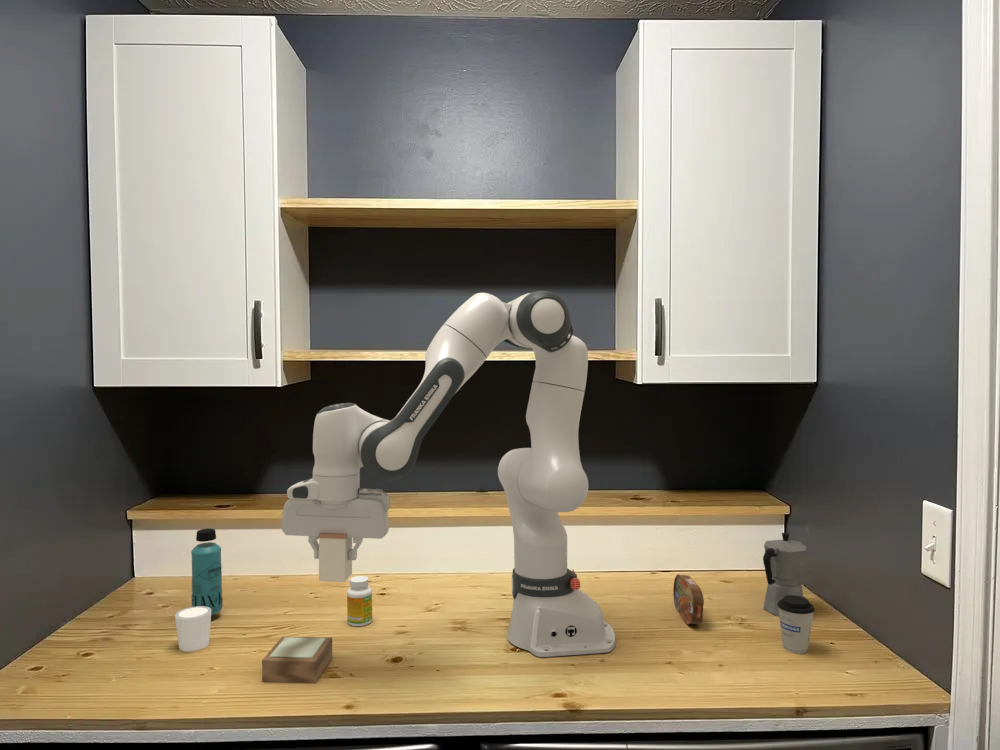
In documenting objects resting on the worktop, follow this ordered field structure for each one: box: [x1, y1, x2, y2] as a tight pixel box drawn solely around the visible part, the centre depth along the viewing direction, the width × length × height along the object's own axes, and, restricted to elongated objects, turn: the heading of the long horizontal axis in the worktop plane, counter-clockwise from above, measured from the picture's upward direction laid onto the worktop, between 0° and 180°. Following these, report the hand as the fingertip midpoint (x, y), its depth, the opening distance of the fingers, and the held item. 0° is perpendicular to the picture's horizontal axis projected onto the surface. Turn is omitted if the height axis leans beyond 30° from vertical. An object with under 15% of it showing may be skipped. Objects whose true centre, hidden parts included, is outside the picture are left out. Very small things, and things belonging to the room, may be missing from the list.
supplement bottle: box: [346, 575, 373, 627], centre depth 151 cm, size 5×5×10 cm
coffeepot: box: [762, 531, 808, 617], centre depth 156 cm, size 15×9×18 cm, turn 129°
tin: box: [672, 574, 705, 625], centre depth 153 cm, size 15×3×8 cm, turn 1°
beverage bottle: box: [190, 528, 224, 616], centre depth 154 cm, size 6×7×20 cm
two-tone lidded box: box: [318, 533, 353, 583], centre depth 132 cm, size 5×5×9 cm
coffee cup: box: [777, 595, 816, 655], centre depth 137 cm, size 7×7×10 cm
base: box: [261, 636, 334, 684], centre depth 130 cm, size 10×10×4 cm
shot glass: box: [174, 606, 212, 653], centre depth 140 cm, size 7×7×7 cm
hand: (335, 558), depth 132 cm, fingers closed on two-tone lidded box, 5 cm apart
